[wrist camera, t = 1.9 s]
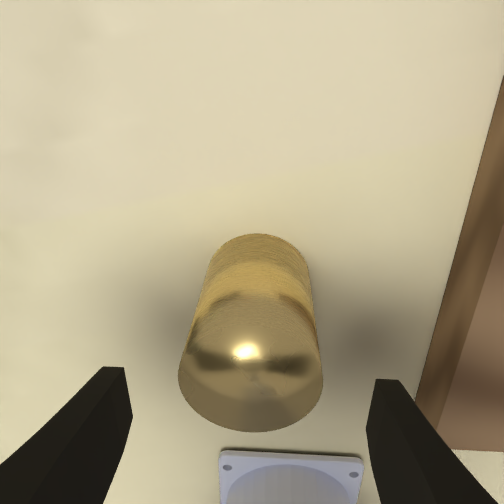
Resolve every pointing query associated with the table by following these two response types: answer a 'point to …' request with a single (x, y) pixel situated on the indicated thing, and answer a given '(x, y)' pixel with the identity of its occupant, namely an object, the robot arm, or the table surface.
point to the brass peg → (253, 338)
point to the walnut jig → (473, 318)
